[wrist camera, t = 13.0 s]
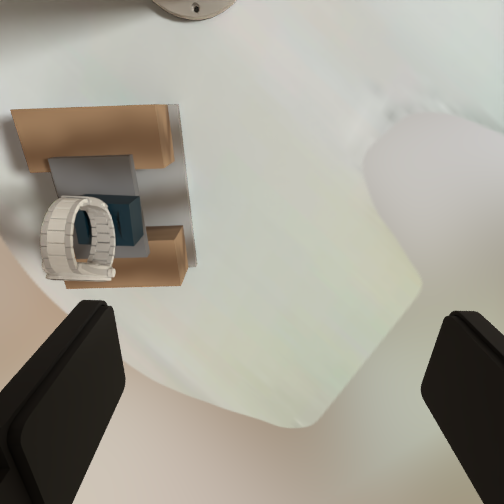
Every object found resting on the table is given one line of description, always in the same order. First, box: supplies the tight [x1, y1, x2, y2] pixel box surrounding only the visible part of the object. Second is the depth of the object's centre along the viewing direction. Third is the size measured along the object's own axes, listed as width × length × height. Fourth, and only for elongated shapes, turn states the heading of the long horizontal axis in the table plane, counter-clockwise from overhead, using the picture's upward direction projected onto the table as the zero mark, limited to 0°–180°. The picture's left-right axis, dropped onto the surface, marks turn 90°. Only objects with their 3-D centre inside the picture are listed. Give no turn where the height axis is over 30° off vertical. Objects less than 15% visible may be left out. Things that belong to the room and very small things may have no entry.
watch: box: [40, 194, 144, 282], centre depth 29 cm, size 6×8×11 cm
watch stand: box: [11, 104, 197, 289], centre depth 37 cm, size 20×16×7 cm
